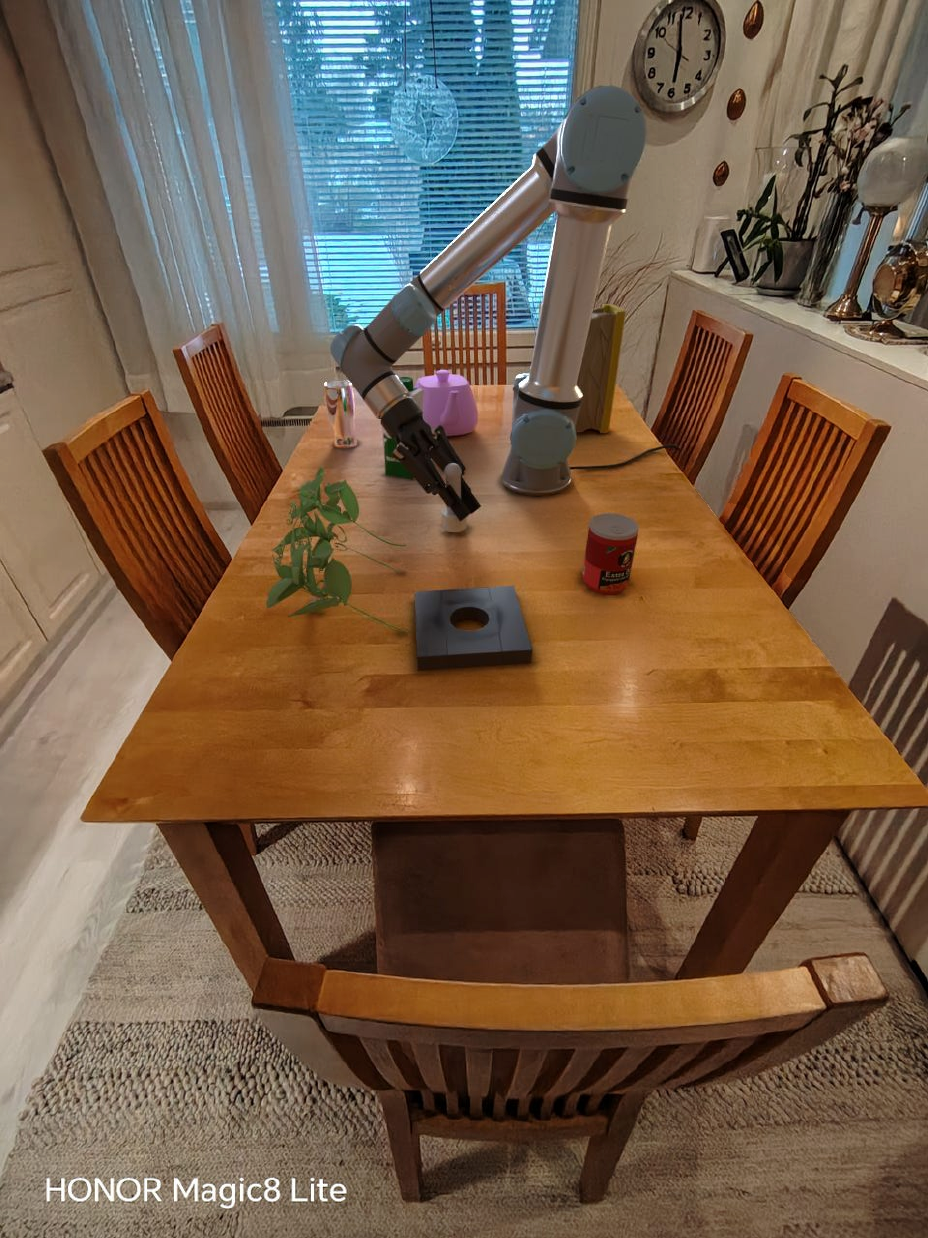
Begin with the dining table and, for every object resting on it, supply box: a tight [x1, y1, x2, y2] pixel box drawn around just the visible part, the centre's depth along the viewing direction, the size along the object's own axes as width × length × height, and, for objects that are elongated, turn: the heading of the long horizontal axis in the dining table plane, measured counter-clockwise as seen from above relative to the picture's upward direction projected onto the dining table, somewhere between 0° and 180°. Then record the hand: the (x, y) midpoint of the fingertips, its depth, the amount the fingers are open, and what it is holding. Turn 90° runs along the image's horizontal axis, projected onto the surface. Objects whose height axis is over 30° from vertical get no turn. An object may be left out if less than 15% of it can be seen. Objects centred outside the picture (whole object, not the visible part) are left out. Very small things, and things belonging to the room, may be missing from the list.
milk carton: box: [381, 376, 423, 480], centre depth 131 cm, size 9×9×20 cm
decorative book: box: [538, 301, 627, 434], centre depth 149 cm, size 20×11×30 cm, turn 98°
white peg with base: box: [441, 463, 468, 533], centre depth 110 cm, size 5×5×13 cm
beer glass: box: [323, 379, 359, 449], centre depth 146 cm, size 7×7×15 cm
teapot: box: [413, 369, 479, 437], centre depth 151 cm, size 23×21×15 cm
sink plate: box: [413, 585, 533, 671], centre depth 88 cm, size 16×16×2 cm
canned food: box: [581, 512, 640, 595], centre depth 96 cm, size 8×8×11 cm
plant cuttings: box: [265, 466, 410, 634], centre depth 90 cm, size 35×17×22 cm
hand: (470, 513), depth 110 cm, fingers closed on white peg with base, 3 cm apart
